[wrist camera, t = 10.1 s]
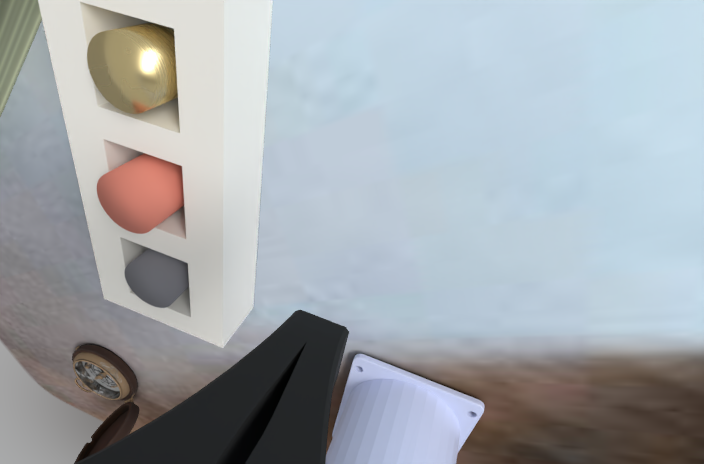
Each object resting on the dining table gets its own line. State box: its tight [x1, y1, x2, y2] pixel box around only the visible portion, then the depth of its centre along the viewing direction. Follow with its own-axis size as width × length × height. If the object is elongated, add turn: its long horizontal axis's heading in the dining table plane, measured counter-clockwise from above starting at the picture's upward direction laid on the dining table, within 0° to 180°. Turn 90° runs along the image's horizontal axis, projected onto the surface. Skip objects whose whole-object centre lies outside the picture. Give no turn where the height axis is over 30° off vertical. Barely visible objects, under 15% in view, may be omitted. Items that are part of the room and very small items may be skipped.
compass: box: [72, 344, 139, 463], centre depth 36 cm, size 8×8×7 cm
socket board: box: [38, 0, 273, 348], centre depth 21 cm, size 18×8×4 cm, turn 170°
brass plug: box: [87, 22, 178, 114], centre depth 18 cm, size 3×3×4 cm
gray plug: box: [125, 248, 189, 308], centre depth 24 cm, size 3×3×4 cm
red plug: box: [97, 153, 184, 234], centre depth 21 cm, size 3×3×4 cm
